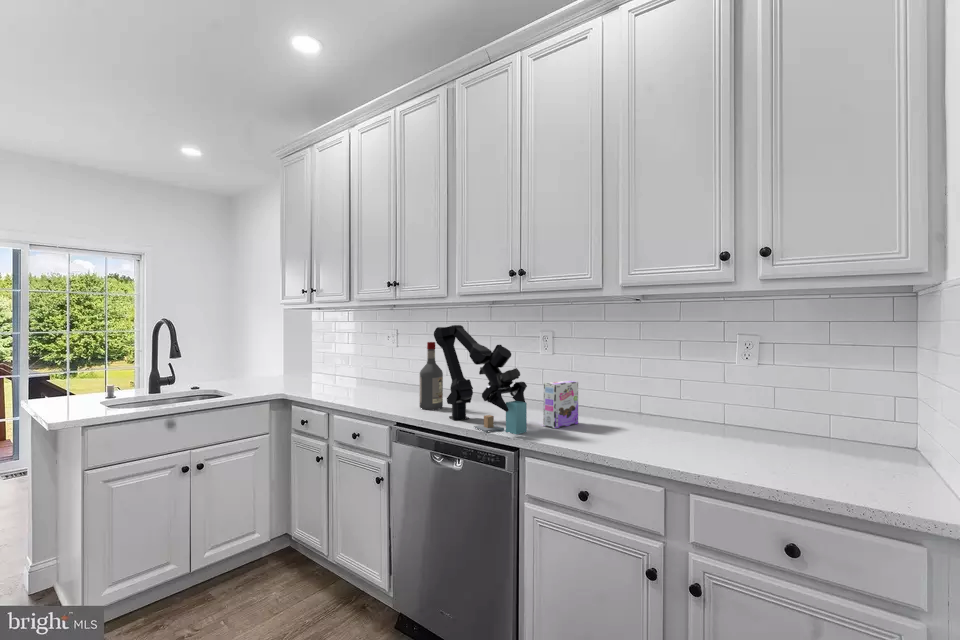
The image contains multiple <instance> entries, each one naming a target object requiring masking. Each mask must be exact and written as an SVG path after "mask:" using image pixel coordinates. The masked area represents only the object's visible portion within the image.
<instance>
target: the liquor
mask: <svg viewBox="0 0 960 640" xmlns="http://www.w3.org/2000/svg"><path fill="white" fill-rule="evenodd" d="M426 344H427V345H426V349H427V360H426V364H424V365H423V367H422V368H421V369H420V371H419V408H420V409H421V408H422V409H421V410H424V409H430V410H429V411H438V410H439V409H442V407H443V406H444V404H443V403H444V402H443V401H444V400H443V398H444V392H443V391H444V389H443V388H444V386H443V385H444V383H443V382H444V378H443V377H444V376H443V375H444V372H443V370H442V369H441V368H440V366H439V365H438V364H437V363H436V362H437V361H436V341H427V342H426ZM437 409H438V410H437Z"/></svg>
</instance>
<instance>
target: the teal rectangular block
mask: <svg viewBox="0 0 960 640" xmlns="http://www.w3.org/2000/svg"><path fill="white" fill-rule="evenodd" d="M505 403H506V405H507V407H508V409H509V410H508V412H506V411H505V433H508V432H510V434H514V435H520V434H524V432H525V433H527V426H528V423H527V415H528V414H527V405H528V404H527V402H526V401H525V402H521V401H515V400H513V401H505Z"/></svg>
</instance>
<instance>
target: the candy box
mask: <svg viewBox="0 0 960 640" xmlns="http://www.w3.org/2000/svg"><path fill="white" fill-rule="evenodd" d="M542 423H543V427H546V428H551V429H553V430H554V429H559V428H563V427H569V426H570V427H571V426H573V425H574V426H575V425H578V424H579V381H575V380H574V381H572V380H561V381H551V382H544V383H543V422H542Z"/></svg>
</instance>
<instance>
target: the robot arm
mask: <svg viewBox="0 0 960 640" xmlns="http://www.w3.org/2000/svg"><path fill="white" fill-rule="evenodd" d="M433 337H434V339H435V343H436V344H437V345H438V346H439V347H440V348H441V350H442V352H443V355H444V360H445V362H446V365H447V368H448V372H449V374H450V378H451V384H450V393H449V395H448V396H447V397H446V401H447V404H448V405H451V415H449V416H448V418H449V419H451V420H454V421H460V420H459V419H463V420H470V418H469V417H468V416H467V404H468V403H469V404H470V403H471V402H472V398H473V394H474V392H473V389H474V388H473V385H472V382H471V380H470V379H469V378H468V379H466V377H464V373H463V370H462V367H461V363H460V361H459V358H458V357H459V356H458V354H457V351H456V348H455V342H456V339H457V341H458V342H459V343H460V344H461V345H462V346H463V347H464V348H465V349H466V350H467V351H468V354H469V357H470V359H471V361H472V362H473V364H474V365H483V366H480V367H479V372H478V373H479V375H480V376H481V375H485V377H486V378H487V380H488V382H487V386H486V387H485V389H484V390H483V392H482V393H481V398H482V399H483V401H484V402H487V403H490V404H492V405H494V406H496V407H497V408H499V409H501V410H503V411H504V412H505V413H506V412H508V410H509V409H508V407H507V405H506V401H505V400H504V398H503V396H502V395H503V394H510V396H511V397H512V399H513V401H521V402H526V399H525V394H524V392H525V390H526V389H527V387H528V385H527V384H526V382H525V381H515V383H514V382H513V381H514V380H517V379H519V378H520V376H521V372H520V370H519V369H518V368H517V367H515V368H513V369H508V370H506V371H503V372H502V370H501V368H504V367H505V365H506V363H507V362H508V361H509V360H510V358H511V357H512V352H511V351H510V350H509V349H508V348H506V347H504V346H503V345H502V344H497V345H496V346H495V347H494V349H493V351H492V350H491V349H490V348H488V347H486V346H485V345H482V344H480V343H478V342H477V340H476V339H475V338H474V337H472V336H471V335H470V333H469V332H468V331H467V330H466V329H465V328H464V326H463V325H461V324H454V325H450V326H437V327H436V328H435V330H434V331H433ZM512 384H513V385H512ZM511 385H512V386H511Z"/></svg>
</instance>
